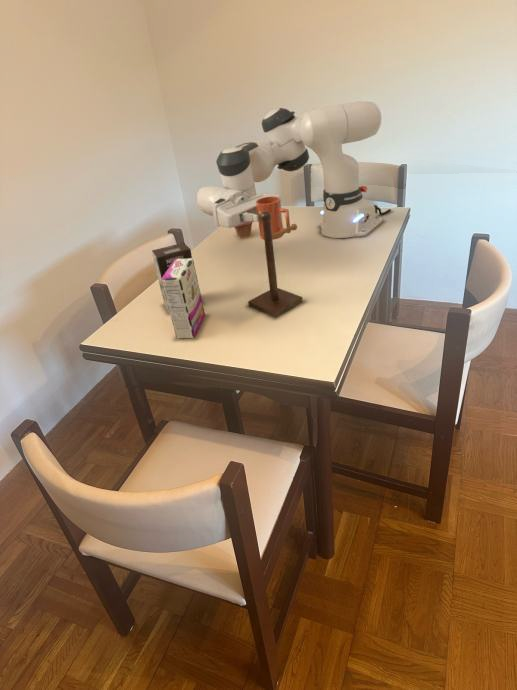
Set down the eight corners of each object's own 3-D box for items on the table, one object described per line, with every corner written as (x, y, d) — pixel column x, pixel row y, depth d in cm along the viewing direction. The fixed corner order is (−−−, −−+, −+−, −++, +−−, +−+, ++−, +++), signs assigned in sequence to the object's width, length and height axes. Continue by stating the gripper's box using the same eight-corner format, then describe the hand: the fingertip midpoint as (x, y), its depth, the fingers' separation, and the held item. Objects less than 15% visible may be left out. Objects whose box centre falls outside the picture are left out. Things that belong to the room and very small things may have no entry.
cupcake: (254, 230, 175) (251, 202, 170) (258, 238, 168) (255, 210, 162) (230, 234, 174) (226, 207, 169) (233, 242, 167) (229, 214, 162)
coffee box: (170, 314, 129) (156, 257, 120) (164, 304, 134) (150, 249, 125) (202, 304, 131) (190, 248, 122) (195, 295, 136) (183, 241, 127)
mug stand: (287, 285, 135) (279, 196, 121) (314, 294, 128) (309, 202, 115) (248, 306, 127) (235, 214, 114) (275, 317, 121) (264, 221, 107)
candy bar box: (187, 316, 126) (174, 258, 118) (206, 316, 125) (194, 257, 117) (175, 339, 117) (159, 278, 108) (194, 339, 116) (180, 277, 107)
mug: (256, 237, 135) (250, 202, 130) (272, 230, 138) (267, 195, 133) (282, 244, 128) (278, 207, 123) (299, 236, 132) (295, 200, 126)
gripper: (263, 206, 147) (296, 213, 138) (211, 227, 137) (243, 236, 128) (261, 185, 144) (294, 191, 135) (207, 205, 133) (239, 213, 124)
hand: (269, 213), depth 131 cm, fingers closed on mug, 6 cm apart
